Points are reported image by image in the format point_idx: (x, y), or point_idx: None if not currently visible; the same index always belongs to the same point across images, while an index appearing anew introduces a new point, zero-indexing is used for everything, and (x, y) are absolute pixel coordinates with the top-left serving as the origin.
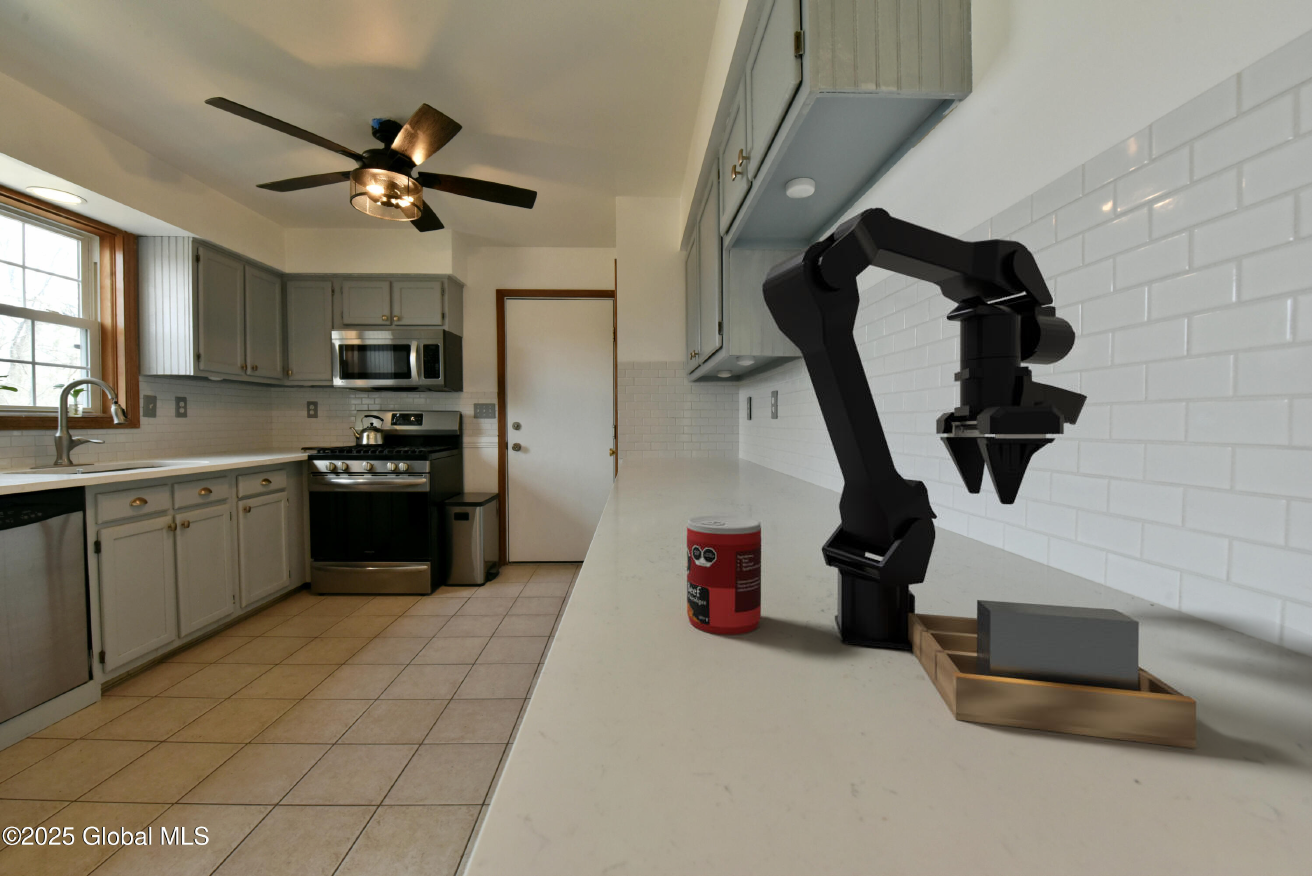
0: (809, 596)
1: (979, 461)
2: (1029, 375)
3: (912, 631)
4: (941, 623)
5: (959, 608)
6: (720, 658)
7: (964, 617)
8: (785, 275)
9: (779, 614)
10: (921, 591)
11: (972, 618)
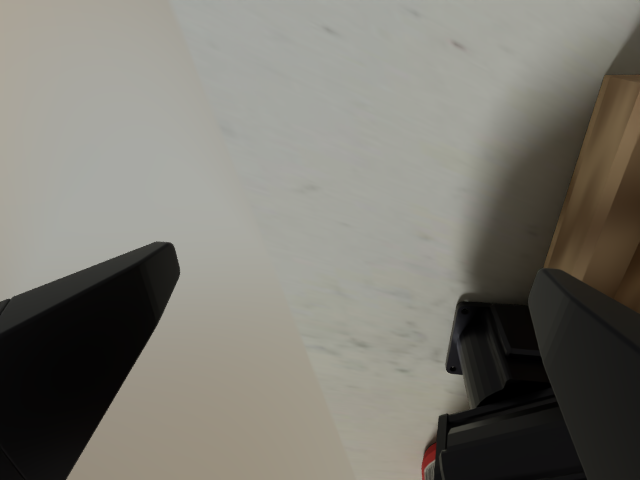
0: (342, 374)
1: (43, 353)
2: None
3: None
4: None
5: (346, 179)
6: None
7: (575, 271)
8: None
9: (428, 413)
10: (256, 214)
11: (580, 260)
